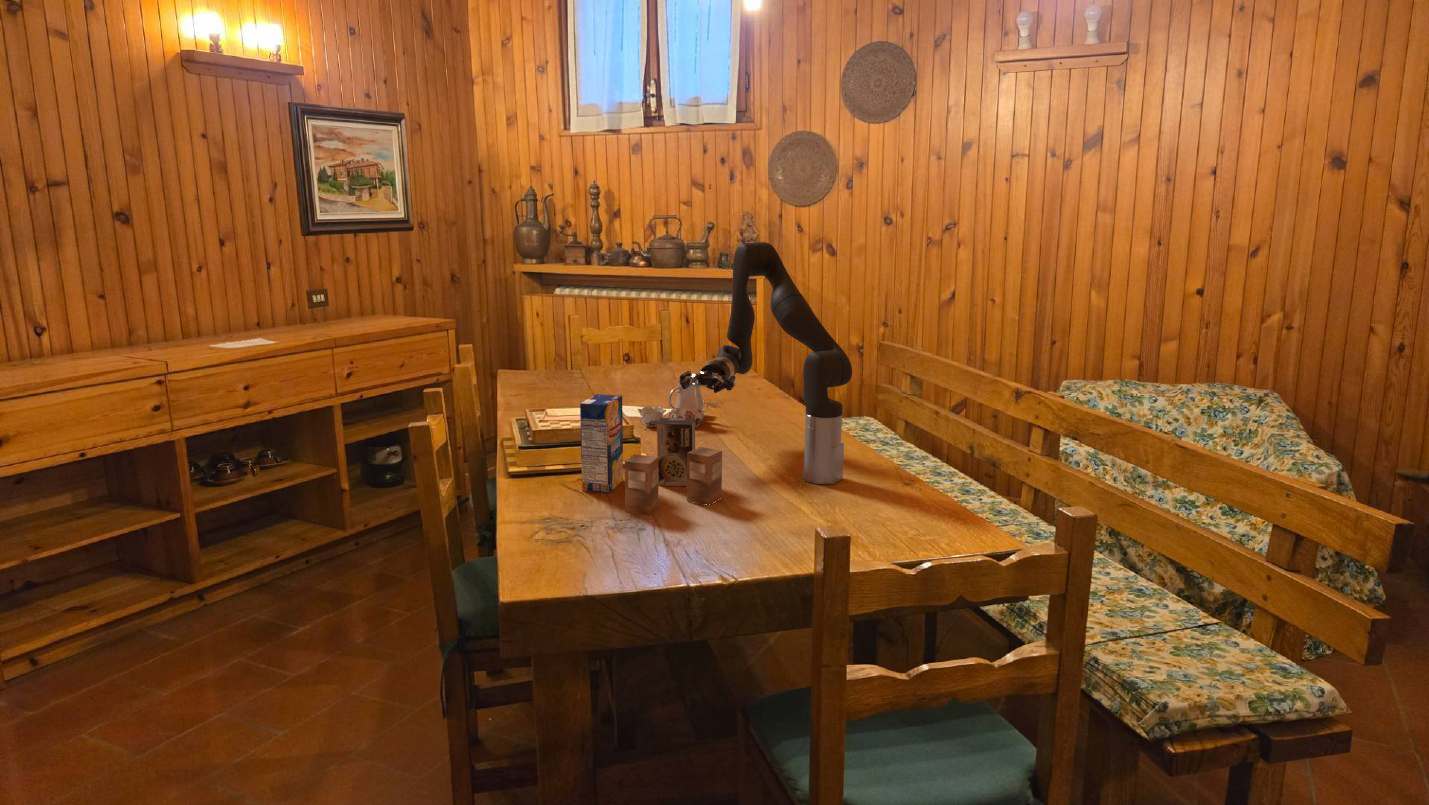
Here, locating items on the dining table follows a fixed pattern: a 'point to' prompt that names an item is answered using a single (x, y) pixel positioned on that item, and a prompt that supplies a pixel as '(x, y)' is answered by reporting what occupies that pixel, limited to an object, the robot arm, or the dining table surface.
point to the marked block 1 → (641, 484)
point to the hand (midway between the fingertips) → (699, 387)
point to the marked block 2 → (704, 475)
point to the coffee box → (674, 449)
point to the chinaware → (677, 407)
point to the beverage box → (601, 443)
